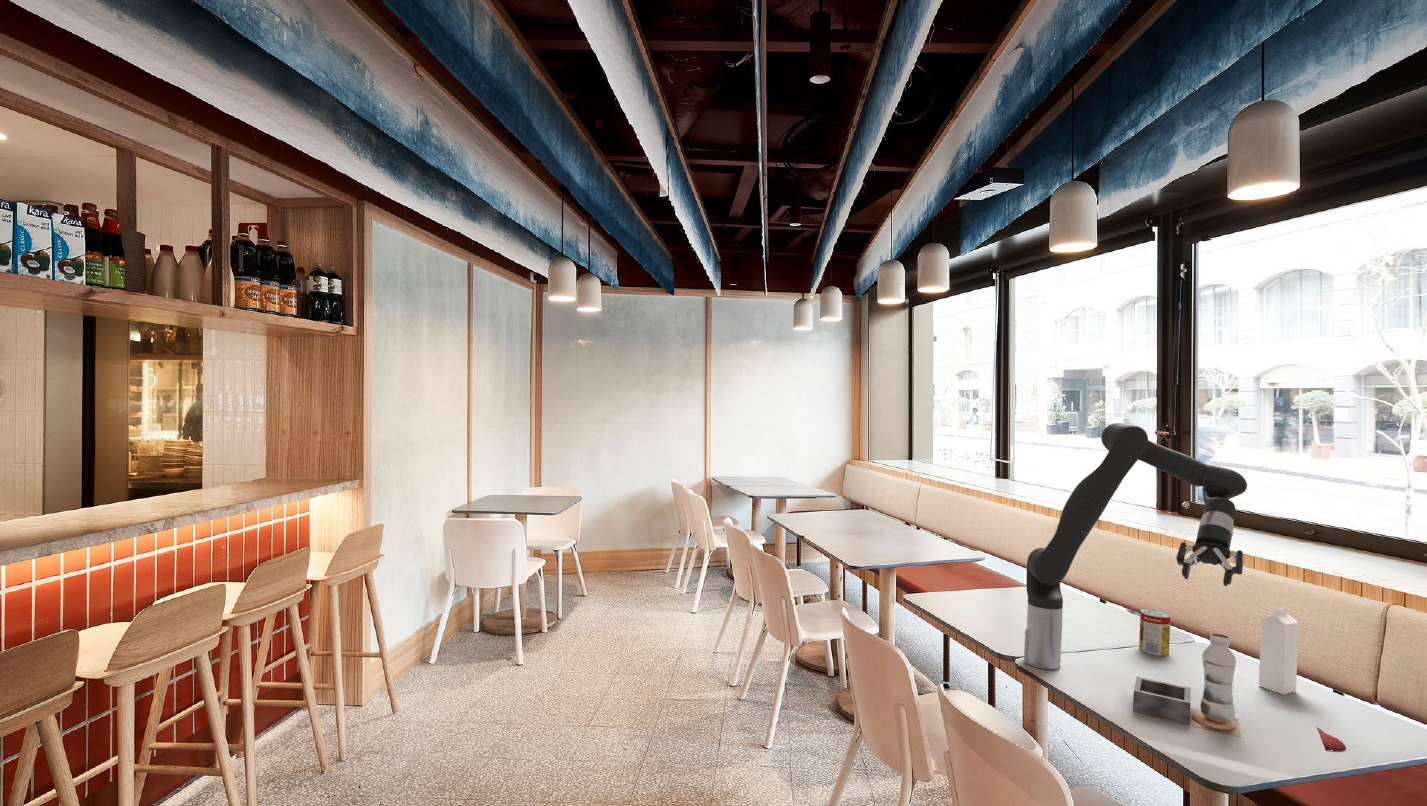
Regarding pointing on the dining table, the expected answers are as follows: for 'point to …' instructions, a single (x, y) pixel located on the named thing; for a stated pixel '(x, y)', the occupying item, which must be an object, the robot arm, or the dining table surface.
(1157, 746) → the dining table surface
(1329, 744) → the red flat piece
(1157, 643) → the canned food
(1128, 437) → the robot arm
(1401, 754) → the dining table surface
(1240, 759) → the dining table surface
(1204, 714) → the plastic bottle
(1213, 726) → the terracotta coaster
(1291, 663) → the milk
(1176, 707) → the wooden organizer tray
